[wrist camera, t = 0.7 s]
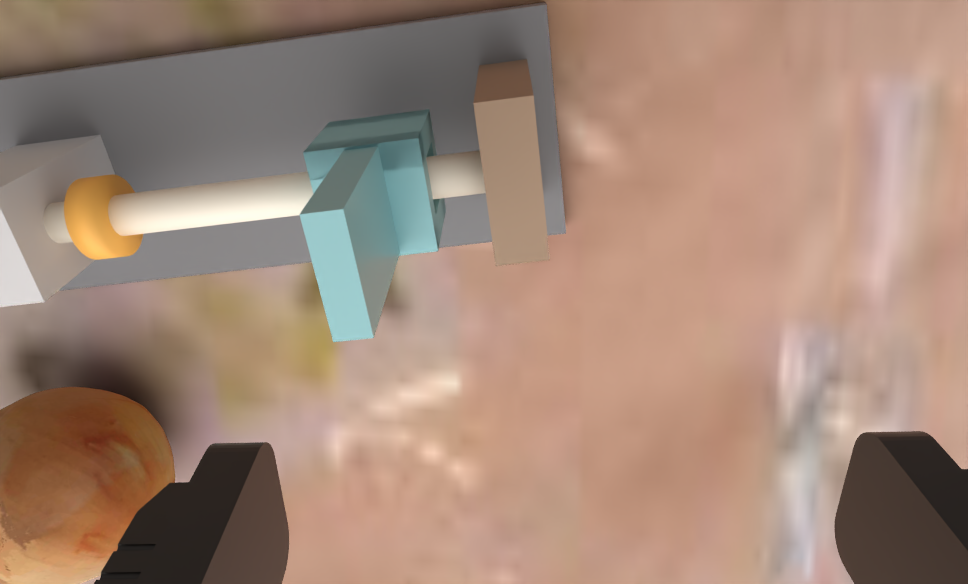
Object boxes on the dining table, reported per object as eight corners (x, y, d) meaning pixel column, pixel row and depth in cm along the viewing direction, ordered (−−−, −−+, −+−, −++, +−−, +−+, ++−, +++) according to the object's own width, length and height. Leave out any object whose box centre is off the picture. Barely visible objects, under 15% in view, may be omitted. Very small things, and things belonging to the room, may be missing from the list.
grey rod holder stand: (545, 2, 30) (560, 29, 22) (564, 225, 34) (582, 311, 27) (-41, 83, 32) (-211, 133, 24) (50, 283, 36) (-69, 379, 29)
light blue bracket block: (429, 109, 28) (394, 199, 19) (446, 210, 30) (421, 335, 21) (329, 121, 28) (247, 216, 19) (352, 220, 30) (287, 349, 21)
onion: (174, 513, 43) (89, 666, 34) (8, 448, 41) (-127, 592, 32) (228, 400, 39) (149, 539, 30) (48, 322, 37) (-94, 447, 28)
